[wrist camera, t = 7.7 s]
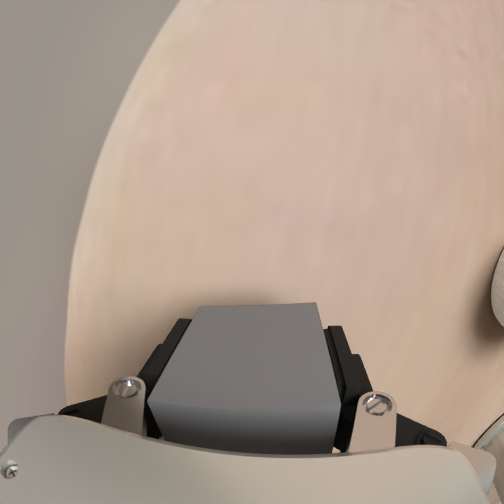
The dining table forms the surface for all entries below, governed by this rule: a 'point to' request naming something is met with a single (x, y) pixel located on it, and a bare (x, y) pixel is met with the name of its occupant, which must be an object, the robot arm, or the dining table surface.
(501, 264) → the ramekin
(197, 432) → the grey block
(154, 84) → the dining table surface
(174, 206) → the dining table surface
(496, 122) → the dining table surface
